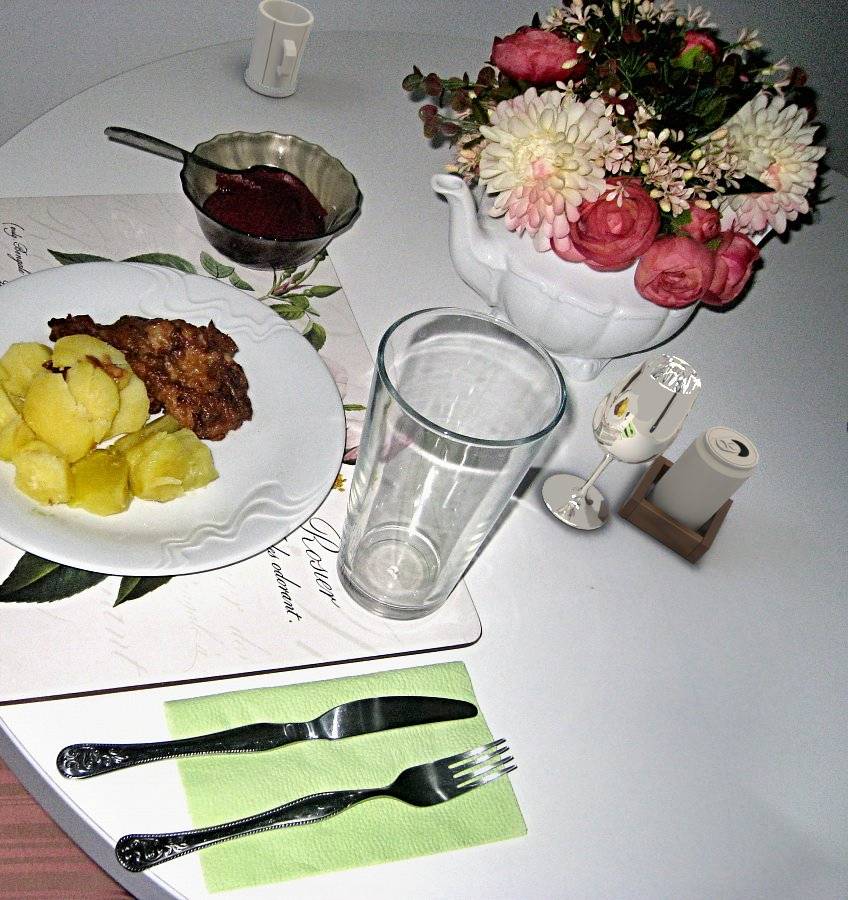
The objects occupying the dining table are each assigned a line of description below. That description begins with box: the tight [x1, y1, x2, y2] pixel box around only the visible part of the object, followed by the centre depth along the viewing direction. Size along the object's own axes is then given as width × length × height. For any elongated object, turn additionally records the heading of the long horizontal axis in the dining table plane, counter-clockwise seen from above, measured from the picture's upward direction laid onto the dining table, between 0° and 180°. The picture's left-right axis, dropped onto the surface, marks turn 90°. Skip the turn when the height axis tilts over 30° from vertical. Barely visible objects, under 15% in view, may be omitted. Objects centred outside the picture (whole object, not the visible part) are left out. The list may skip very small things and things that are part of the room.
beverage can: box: [645, 425, 760, 533], centre depth 96 cm, size 6×6×12 cm
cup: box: [243, 0, 315, 98], centre depth 143 cm, size 10×9×12 cm
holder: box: [617, 454, 734, 565], centre depth 99 cm, size 9×9×3 cm
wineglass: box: [541, 352, 703, 530], centre depth 91 cm, size 8×8×20 cm
